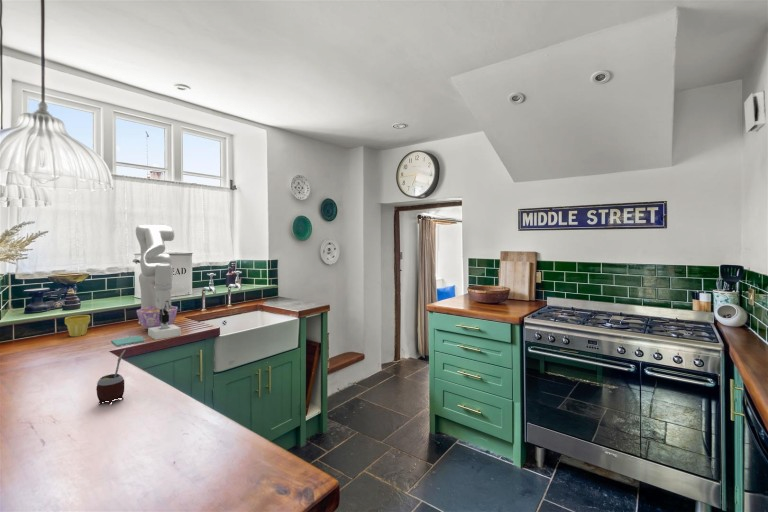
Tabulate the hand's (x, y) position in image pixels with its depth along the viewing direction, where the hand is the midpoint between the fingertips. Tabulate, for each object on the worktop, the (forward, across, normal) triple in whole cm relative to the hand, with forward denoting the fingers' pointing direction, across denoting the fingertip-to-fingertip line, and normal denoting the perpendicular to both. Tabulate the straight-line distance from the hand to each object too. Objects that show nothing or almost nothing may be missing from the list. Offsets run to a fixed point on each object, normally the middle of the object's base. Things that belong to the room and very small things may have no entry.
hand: (164, 321), depth 192 cm
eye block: (+8, 0, 0) cm, 8 cm away
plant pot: (+8, -34, -31) cm, 47 cm away
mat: (+8, 0, -16) cm, 18 cm away
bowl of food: (+8, -18, +2) cm, 20 cm away
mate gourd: (+8, +75, -37) cm, 84 cm away
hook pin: (+8, 0, 0) cm, 8 cm away
